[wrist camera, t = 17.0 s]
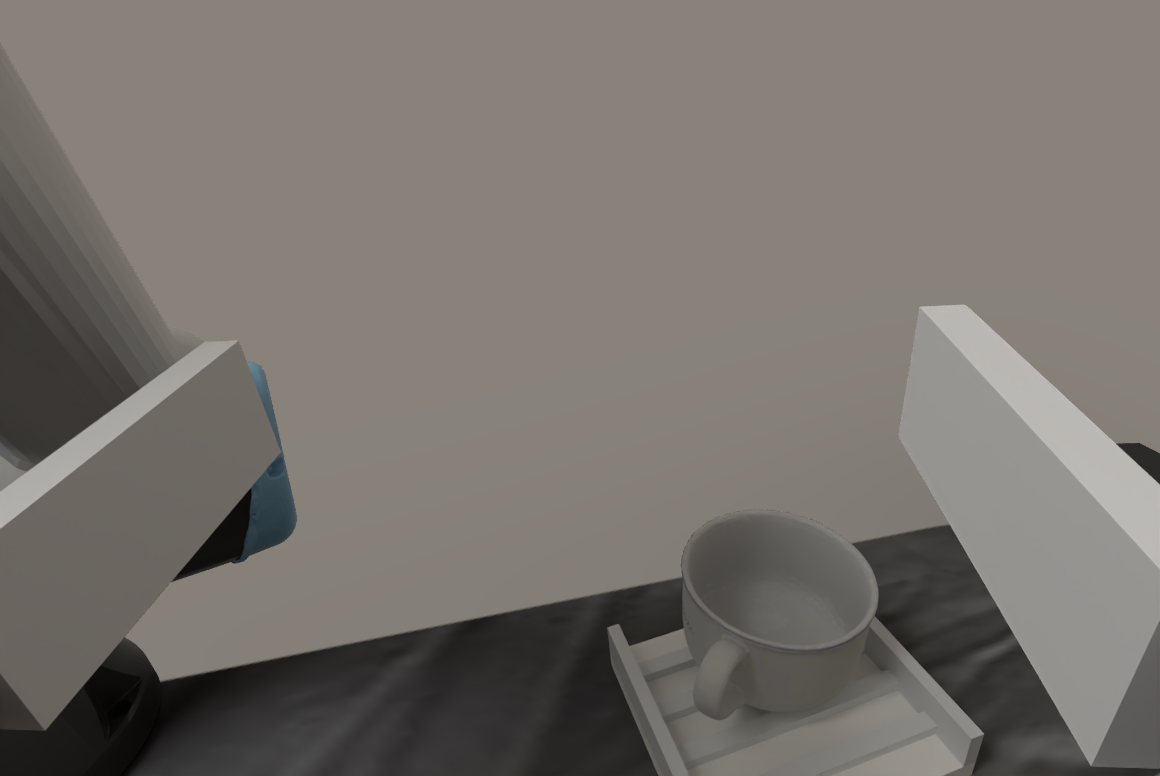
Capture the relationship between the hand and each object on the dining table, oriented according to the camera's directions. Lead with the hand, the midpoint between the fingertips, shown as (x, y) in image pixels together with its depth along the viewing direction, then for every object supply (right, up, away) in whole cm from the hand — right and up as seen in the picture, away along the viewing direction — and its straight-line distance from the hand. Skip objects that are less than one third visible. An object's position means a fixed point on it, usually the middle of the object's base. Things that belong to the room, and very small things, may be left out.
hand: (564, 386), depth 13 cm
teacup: (+11, -18, +28) cm, 35 cm away
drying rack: (+12, -20, +27) cm, 36 cm away
